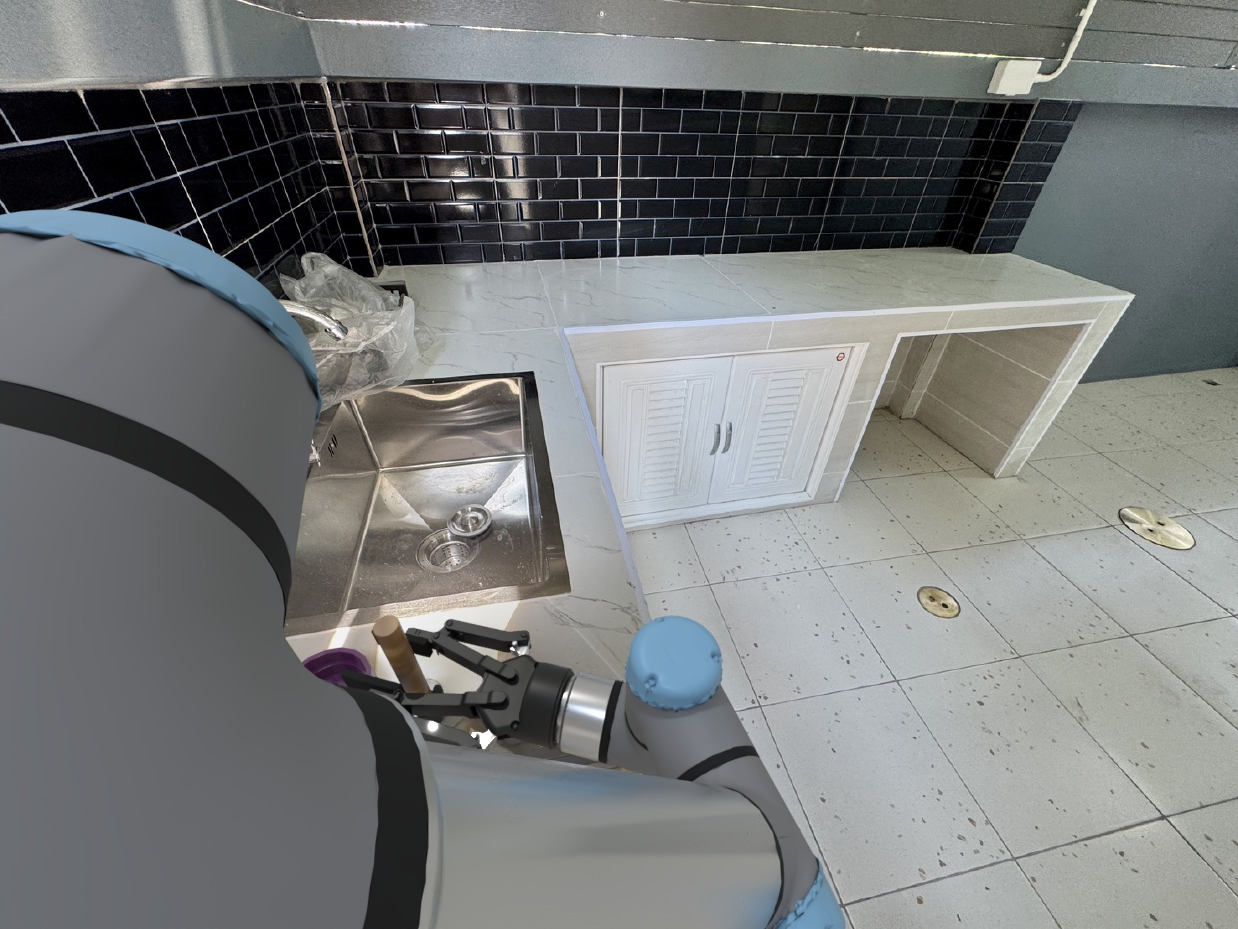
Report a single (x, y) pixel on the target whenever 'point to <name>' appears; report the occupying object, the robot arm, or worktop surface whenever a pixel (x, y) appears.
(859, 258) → the worktop surface
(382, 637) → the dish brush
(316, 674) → the plum bowl
